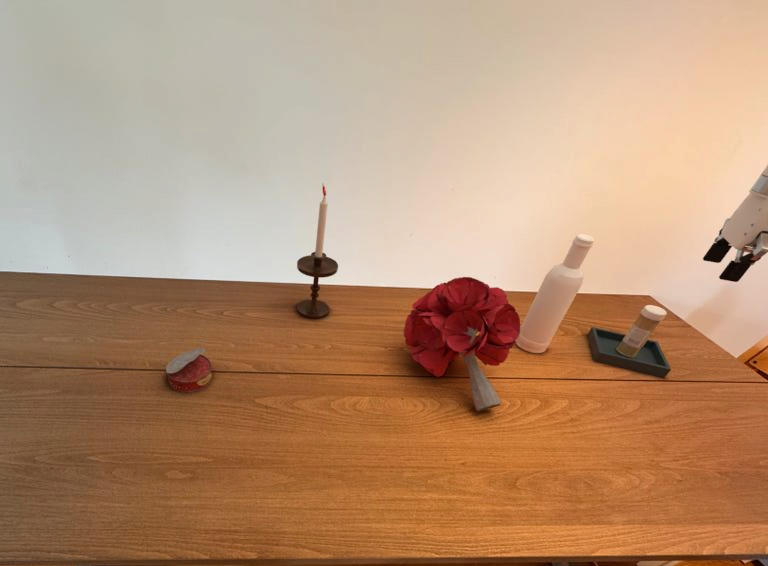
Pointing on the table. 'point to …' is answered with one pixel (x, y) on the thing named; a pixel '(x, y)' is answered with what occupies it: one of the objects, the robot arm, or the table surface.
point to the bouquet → (463, 331)
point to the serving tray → (645, 360)
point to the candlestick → (317, 269)
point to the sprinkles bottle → (641, 330)
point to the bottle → (554, 298)
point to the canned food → (189, 371)
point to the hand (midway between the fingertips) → (719, 270)
